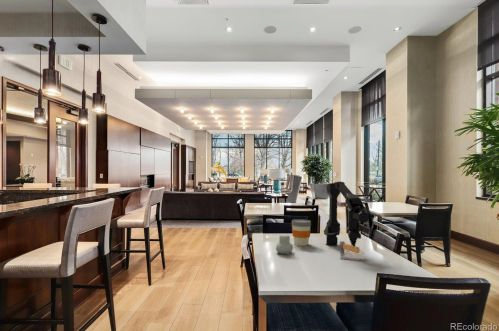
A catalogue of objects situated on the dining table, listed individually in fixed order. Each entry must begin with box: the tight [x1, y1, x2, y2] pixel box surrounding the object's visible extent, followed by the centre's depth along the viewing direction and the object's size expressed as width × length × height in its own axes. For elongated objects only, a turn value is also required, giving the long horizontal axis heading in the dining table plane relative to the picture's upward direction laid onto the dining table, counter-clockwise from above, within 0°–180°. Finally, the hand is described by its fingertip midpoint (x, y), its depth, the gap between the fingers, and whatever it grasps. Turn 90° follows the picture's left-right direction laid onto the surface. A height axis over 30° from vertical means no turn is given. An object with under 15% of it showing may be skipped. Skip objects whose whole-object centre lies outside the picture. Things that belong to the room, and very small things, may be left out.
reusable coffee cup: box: [291, 218, 312, 247], centre depth 184 cm, size 13×13×15 cm
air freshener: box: [275, 233, 294, 255], centre depth 163 cm, size 11×8×10 cm
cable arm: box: [339, 240, 360, 253], centre depth 157 cm, size 13×3×4 cm, turn 26°
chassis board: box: [339, 247, 366, 262], centre depth 160 cm, size 12×20×3 cm, turn 163°
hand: (353, 247), depth 157 cm, fingers closed
